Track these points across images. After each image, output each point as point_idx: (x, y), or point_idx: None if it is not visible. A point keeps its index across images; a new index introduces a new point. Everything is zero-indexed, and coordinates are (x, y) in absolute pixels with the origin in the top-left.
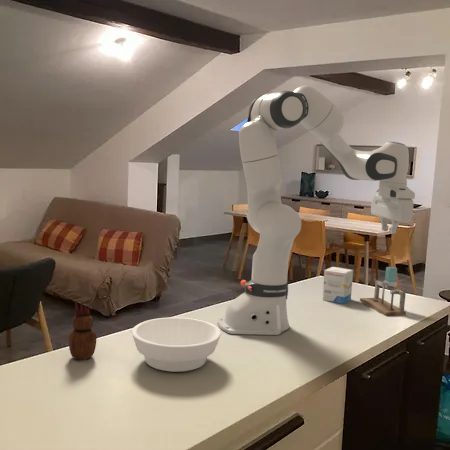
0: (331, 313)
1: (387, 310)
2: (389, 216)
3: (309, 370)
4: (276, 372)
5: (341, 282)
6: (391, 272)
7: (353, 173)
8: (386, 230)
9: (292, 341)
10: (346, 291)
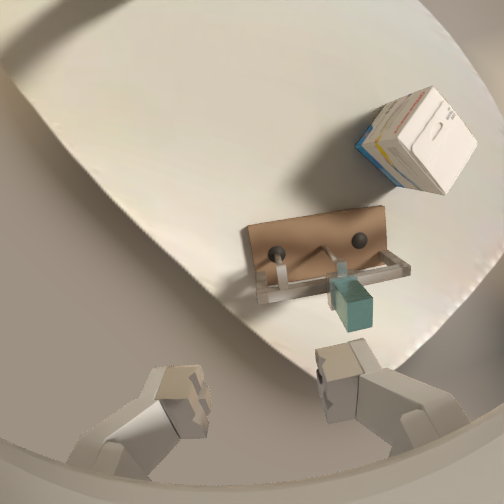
0: (260, 81)
1: (267, 239)
2: (84, 502)
3: (3, 43)
4: (9, 13)
5: (386, 131)
6: (342, 304)
7: None
8: (317, 374)
9: (83, 3)
10: (377, 155)
